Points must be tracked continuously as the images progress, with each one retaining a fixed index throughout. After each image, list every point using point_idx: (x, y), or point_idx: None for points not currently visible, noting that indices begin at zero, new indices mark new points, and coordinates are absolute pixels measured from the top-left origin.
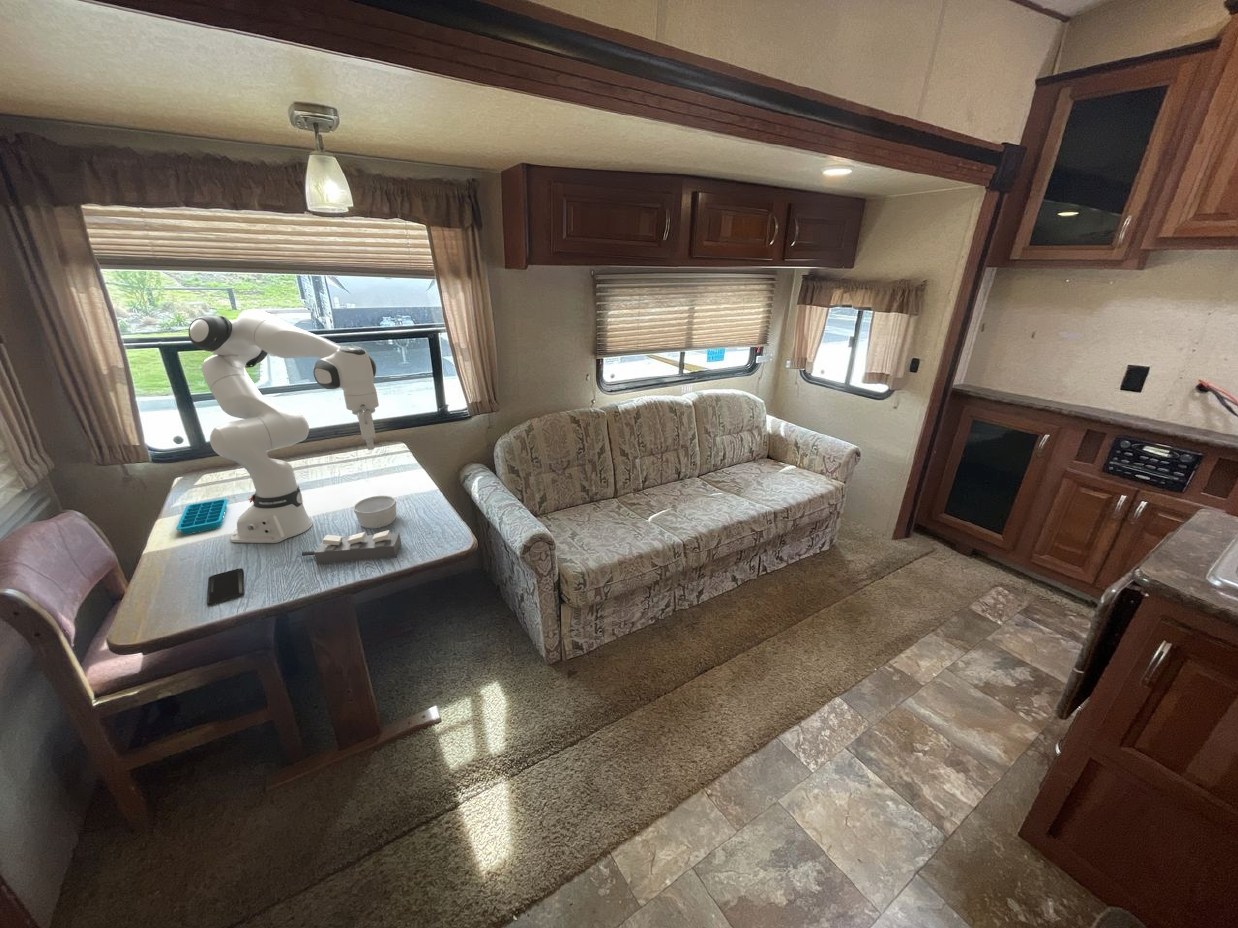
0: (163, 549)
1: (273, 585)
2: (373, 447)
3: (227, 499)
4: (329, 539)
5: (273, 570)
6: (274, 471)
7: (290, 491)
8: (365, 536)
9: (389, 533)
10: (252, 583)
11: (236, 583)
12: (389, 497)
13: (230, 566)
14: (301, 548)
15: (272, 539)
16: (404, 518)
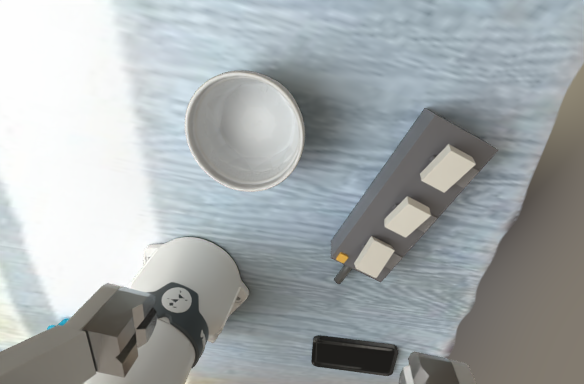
0: (188, 380)
1: (398, 318)
2: (471, 380)
3: (51, 326)
4: (379, 266)
5: (347, 310)
6: None
7: (180, 336)
8: (415, 201)
9: (457, 151)
10: (368, 334)
11: (358, 348)
12: (212, 83)
13: (291, 343)
14: (295, 269)
15: (242, 300)
16: (281, 54)
